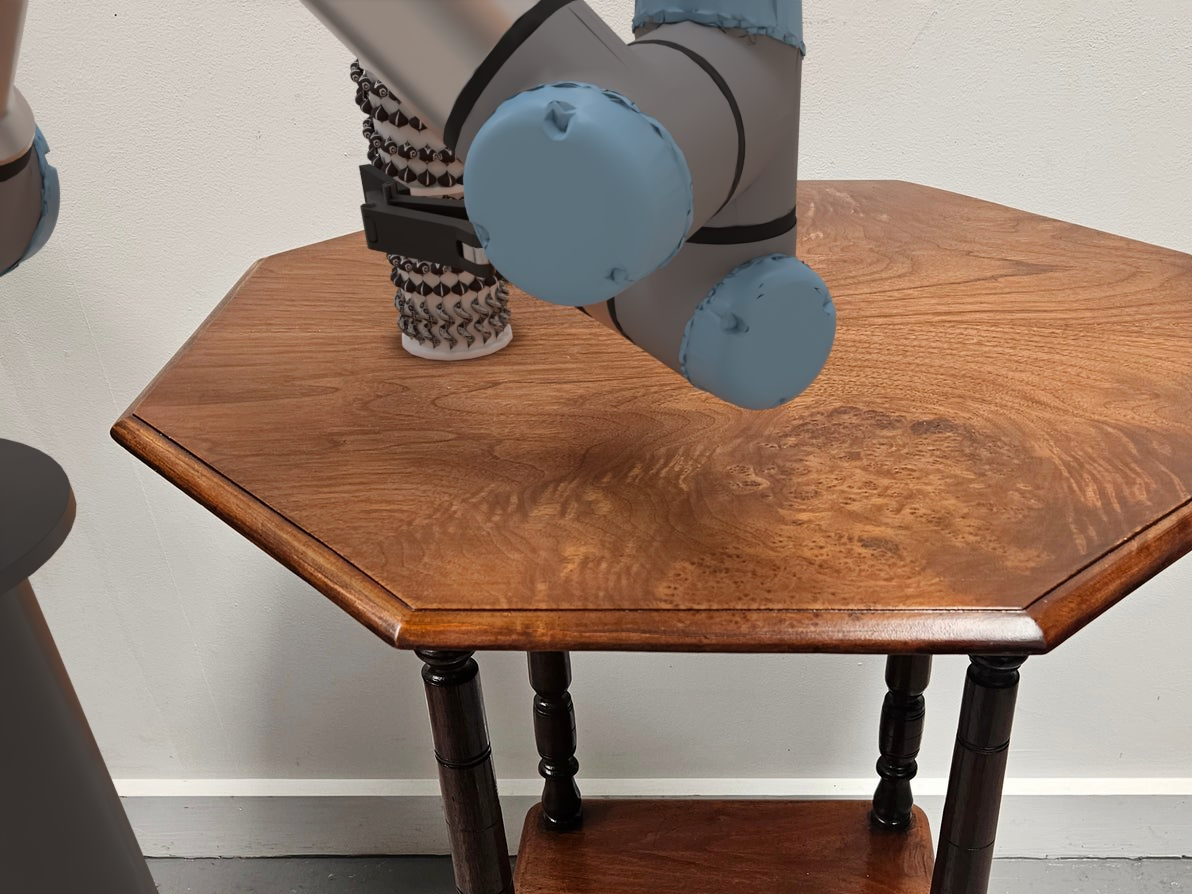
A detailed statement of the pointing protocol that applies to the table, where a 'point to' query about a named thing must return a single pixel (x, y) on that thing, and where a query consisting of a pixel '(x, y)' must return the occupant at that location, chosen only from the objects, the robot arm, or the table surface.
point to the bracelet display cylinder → (426, 290)
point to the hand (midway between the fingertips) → (463, 169)
